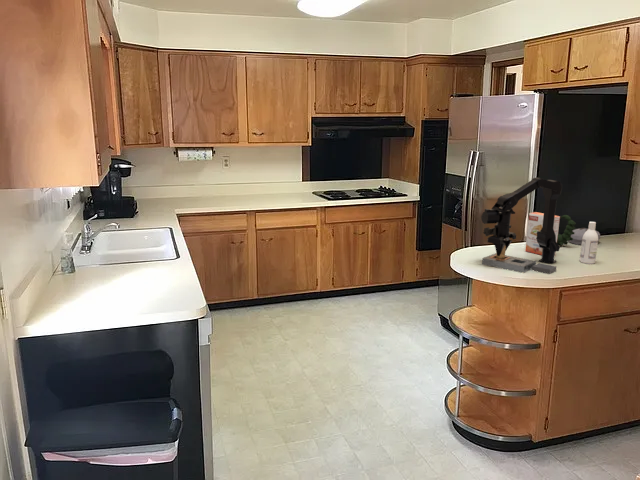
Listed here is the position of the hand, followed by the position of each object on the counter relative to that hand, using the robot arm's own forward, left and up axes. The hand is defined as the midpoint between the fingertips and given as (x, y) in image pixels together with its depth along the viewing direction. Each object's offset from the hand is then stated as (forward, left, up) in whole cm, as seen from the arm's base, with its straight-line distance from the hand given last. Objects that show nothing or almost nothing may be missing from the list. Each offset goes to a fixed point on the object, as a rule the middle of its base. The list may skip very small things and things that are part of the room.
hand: (500, 255), depth 248 cm
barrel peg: (0, 0, -2) cm, 2 cm away
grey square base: (-4, +19, -4) cm, 20 cm away
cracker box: (-36, +5, -4) cm, 37 cm away
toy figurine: (-65, 0, -4) cm, 65 cm away
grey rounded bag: (-83, +12, -5) cm, 84 cm away
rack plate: (0, +4, -4) cm, 6 cm away
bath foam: (-36, +28, -4) cm, 46 cm away
